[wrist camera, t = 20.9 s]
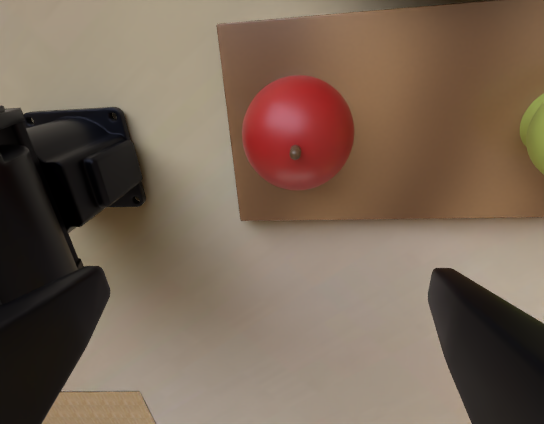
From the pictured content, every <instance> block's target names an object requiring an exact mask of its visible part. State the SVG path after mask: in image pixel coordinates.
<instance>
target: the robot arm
mask: <svg viewBox="0 0 544 424" xmlns="http://www.w3.org/2000/svg"><path fill="white" fill-rule="evenodd" d="M112 113H115V114H116V116H117V120H116V119H114V118H113V116H112ZM31 118H32V119H33V120H34V123H33V122H32V120H31ZM141 180H142V175H141V171H140V167H139V163H138V159H137V155H136V152H135V148H134V144H133V143H132V141H131V140H130V136H129V132H128V128H127V124H126V121H125V117H124V114H123V112H122V111H121V110H120V109H119V108H117V107H106V108H89V109H71V110H54V111H36V112H29V113H25V114H24V115H23V113H22V110H21V108H10V109H4V106H0V424H42V422H43V421H44V419H45V417H46V416H47V414H48V412H49V410H50V409H51V407H52V405H53V404H54V402H55V400H56V398H57V397H58V395H59V393H60V392H61V390H62V388H63V386H64V385H65V383H66V381H67V379H68V378H69V376H70V374H71V373H72V371H73V369H74V367H75V366H76V364H77V362H78V361H79V359H80V357H81V355H82V354H83V352H84V350H85V348H86V346H87V344H88V342H89V340H90V338H91V336H92V334H93V332H94V330H95V328H96V325H97V323H98V321H99V319H100V317H101V315H102V312H103V310H104V308H105V306H106V304H107V302H108V299H109V297H110V287H109V284H108V282H107V279H106V276H105V273H104V271H103V269H102V268H101V267H99V266H85V267H84V266H83V264H82V261H81V259H79V258H78V257H77V254H76V252H75V249H74V247H73V244H72V242H71V239H70V237H69V234H68V233H69V232H71V231H72V230H73V229H75V228H76V227H80V226H82V225H84V224H85V223H86V222H88V221H89V220H90V219H92V218H93V217H94V216H95V215H97V214H98V213H99V212H101V211H102V210H103V209H104V208H106V207H138V206H141V205H142V204H143V203H144V202H145V201H146V197H145V193H144V189H143V185H142V182H141ZM135 197H138V198H139V200H140V201H138V200H136V198H135ZM428 302H429V306H430V310H431V313H432V316H433V320H434V323H435V327H436V330H437V334H438V337H439V341H440V344H441V347H442V351H443V354H444V357H445V360H446V363H447V365H448V368H449V370H450V373H451V375H452V377H453V380H454V382H455V385H456V387H457V389H458V392H459V394H460V396H461V399H462V401H463V404H464V406H465V408H466V411H467V413H468V416H469V418H470V420H471V423H472V424H544V324H543V323H542V322H540V321H538V320H537V319H535V318H533V317H532V316H530V315H528V314H527V313H525V312H523V311H522V310H520V309H518V308H517V307H515V306H513V305H512V304H510V303H508V302H507V301H505V300H503V299H502V298H500V297H499V296H497V295H495V294H494V293H492V292H490V291H489V290H487V289H485V288H484V287H482V286H480V285H479V284H477V283H475V282H474V281H472V280H470V279H469V278H467V277H465V276H464V275H462V274H460V273H459V272H457V271H455V270H454V269H451V268H435V269H434V270H433V272H432V275H431V280H430V286H429V291H428Z"/></svg>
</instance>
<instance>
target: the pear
mask: <svg viewBox="0 0 544 424" xmlns="http://www.w3.org/2000/svg"><path fill="white" fill-rule="evenodd" d="M520 137H521V140H522V142H523V144H524V145H525V146H526V147H527V151H528V155H529V157H530V159H531V161H532V163H533V164H534V165H535V167H536V168H537V169H538V170H539V171H540V172H541V173H542V174H543V175H544V93H543V94H542V95H541V96H539V97H538V98H537V99H536V100H534V101H533V103H532V104H531V105H530V106H529V107H528V108H527V110H526V112H525V113H524V115H523V117H522V120H521V123H520Z"/></svg>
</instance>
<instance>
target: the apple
mask: <svg viewBox="0 0 544 424" xmlns="http://www.w3.org/2000/svg"><path fill="white" fill-rule="evenodd" d="M242 142H243V148H244V151H245V154H246V157H247V159H248V161H249V163H250V164H251V166H252V167H253V169H254V170H255V171H256V172H257V173H258V174H259V175H260V176H261V177H262V178H263V179H264V180H266V181H267V182H269V183H271V184H272V185H274V186H277V187H279V188H283V189H287V190H307V189H312V188H315V187H318V186H320V185H322V184H324V183H326V182H327V181H329V180H330V179H331V178H333V177H334V176H335V175H336V174H337V173H338V172H339V171H340V170H341V169H342V167H343V166H344V165H345V163H346V161H347V159H348V158H349V155H350V152H351V150H352V146H353V142H354V122H353V117H352V114H351V111H350V109H349V106H348V104H347V102H346V101H345V99H344V98H343V96H342V95H341V94H340V93H339V92H338V91H337V90H336V89H335V88H334V87H333V86H331V85H330V84H328V83H327V82H325V81H323V80H321V79H318V78H315V77H312V76H305V75H293V76H287V77H283V78H280V79H278V80H275V81H273V82H272V83H270V84H268V85H267V86H265V87H264V88H263V89H262V90H261V91H260V92H259V93H258V94H257V95H256V96H255V97H254V99H253V100H252V102H251V103H250V105H249V107H248V109H247V111H246V114H245V116H244V120H243V125H242Z"/></svg>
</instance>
